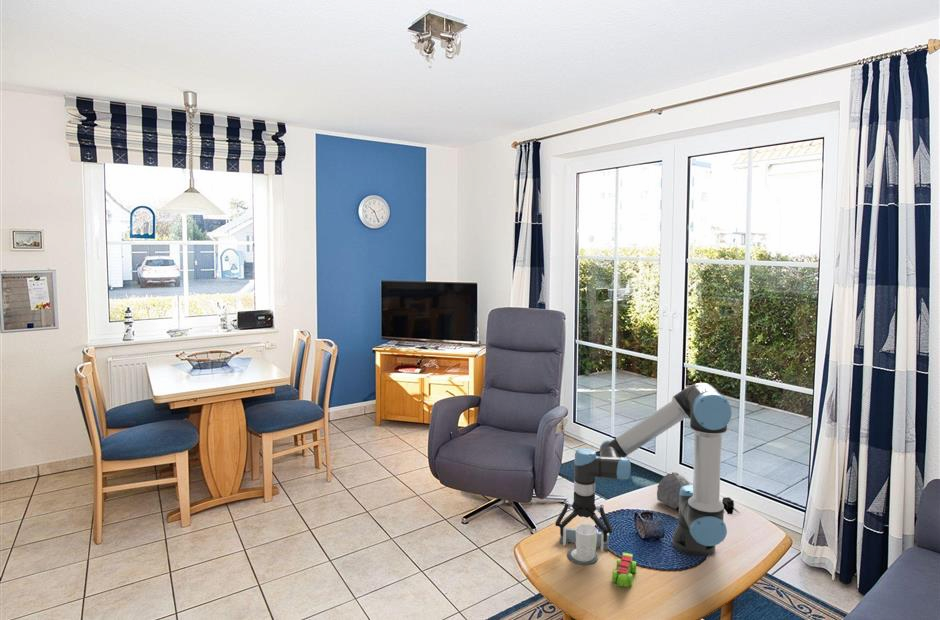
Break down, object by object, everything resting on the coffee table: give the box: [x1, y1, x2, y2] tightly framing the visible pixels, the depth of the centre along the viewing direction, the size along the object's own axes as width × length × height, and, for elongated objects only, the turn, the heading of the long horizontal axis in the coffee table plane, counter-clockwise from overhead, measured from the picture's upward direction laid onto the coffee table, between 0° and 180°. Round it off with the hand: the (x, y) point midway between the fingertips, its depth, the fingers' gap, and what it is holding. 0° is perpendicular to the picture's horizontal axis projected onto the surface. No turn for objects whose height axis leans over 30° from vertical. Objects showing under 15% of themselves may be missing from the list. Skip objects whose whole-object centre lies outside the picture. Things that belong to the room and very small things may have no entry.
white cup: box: [574, 523, 598, 560], centre depth 205 cm, size 8×8×10 cm
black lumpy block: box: [721, 497, 740, 515], centre depth 242 cm, size 12×7×5 cm, turn 5°
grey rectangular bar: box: [559, 527, 610, 551], centre depth 215 cm, size 18×5×5 cm, turn 75°
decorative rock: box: [656, 471, 690, 510], centre depth 243 cm, size 16×7×15 cm, turn 37°
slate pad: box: [567, 546, 599, 566], centre depth 206 cm, size 11×11×1 cm
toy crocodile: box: [611, 552, 637, 587], centre depth 194 cm, size 20×7×6 cm, turn 156°
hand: (583, 546), depth 206 cm, fingers open, 13 cm apart
